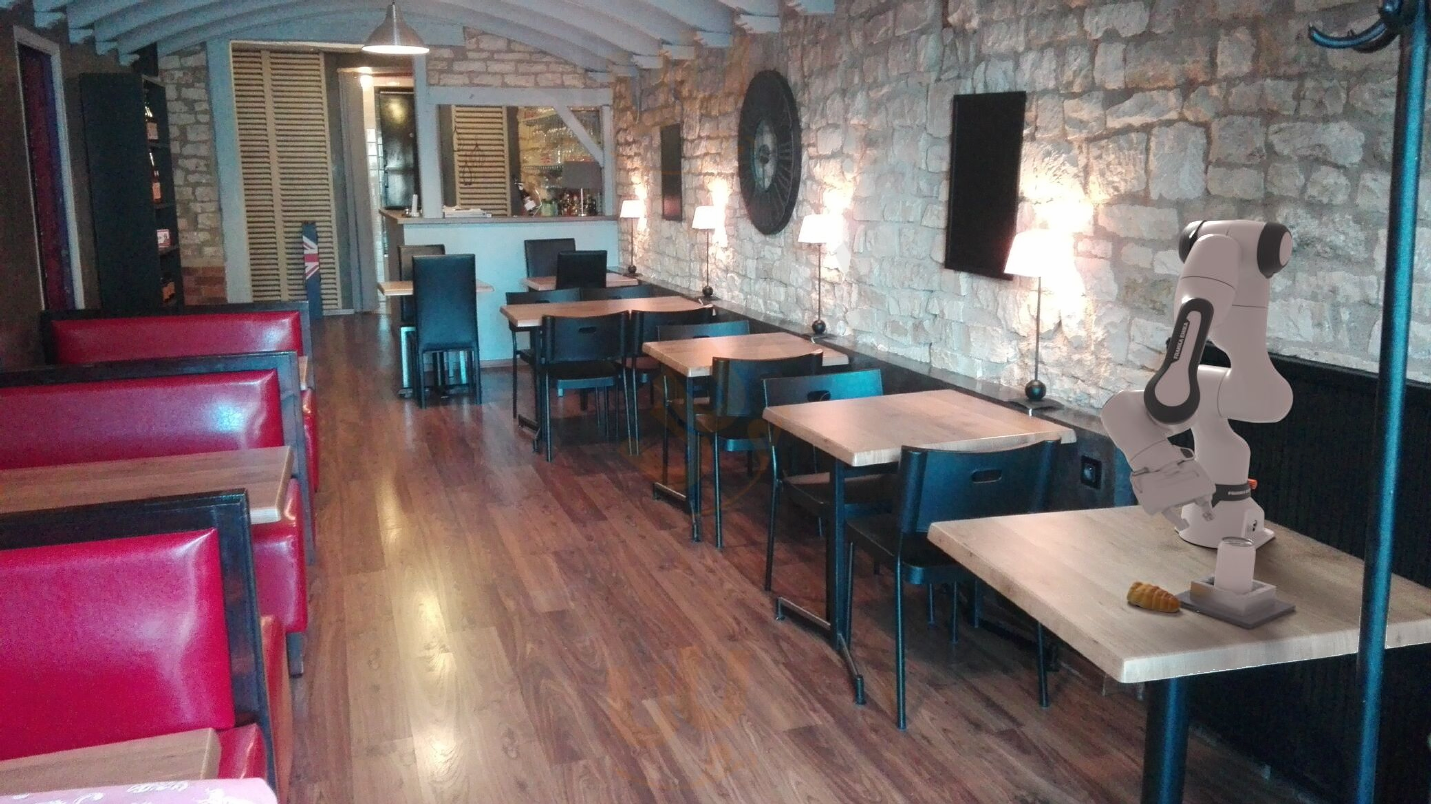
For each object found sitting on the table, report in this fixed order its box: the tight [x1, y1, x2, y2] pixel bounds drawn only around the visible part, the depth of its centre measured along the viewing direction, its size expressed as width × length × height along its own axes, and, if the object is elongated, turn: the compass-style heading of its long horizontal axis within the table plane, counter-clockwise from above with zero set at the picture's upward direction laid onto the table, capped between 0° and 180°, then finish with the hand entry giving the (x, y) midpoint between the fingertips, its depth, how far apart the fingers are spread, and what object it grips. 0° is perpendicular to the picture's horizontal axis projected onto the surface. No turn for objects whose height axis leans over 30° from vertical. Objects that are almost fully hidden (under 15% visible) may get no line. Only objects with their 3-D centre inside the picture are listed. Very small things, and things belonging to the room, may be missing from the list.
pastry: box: [1126, 581, 1182, 613], centre depth 212 cm, size 9×7×4 cm
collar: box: [1173, 572, 1296, 630], centre depth 212 cm, size 16×16×4 cm
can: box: [1214, 536, 1256, 595], centre depth 211 cm, size 6×6×12 cm
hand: (1198, 524), depth 216 cm, fingers open, 8 cm apart
